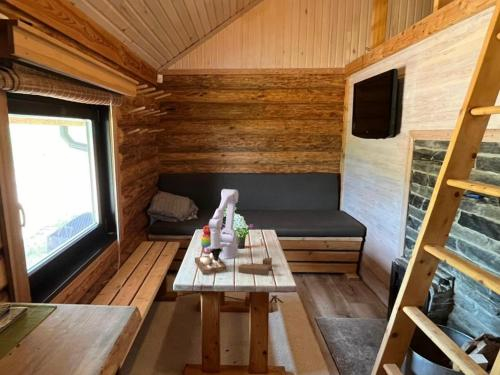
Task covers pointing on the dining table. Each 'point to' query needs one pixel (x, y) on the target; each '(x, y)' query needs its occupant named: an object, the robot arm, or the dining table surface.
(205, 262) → the button
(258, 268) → the wooden block set
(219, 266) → the button board
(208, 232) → the stacking bear
